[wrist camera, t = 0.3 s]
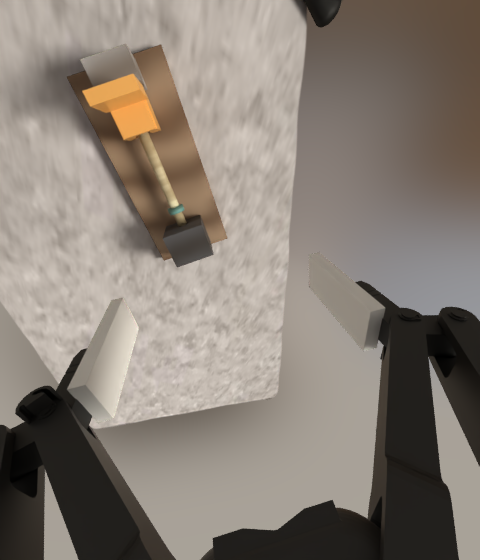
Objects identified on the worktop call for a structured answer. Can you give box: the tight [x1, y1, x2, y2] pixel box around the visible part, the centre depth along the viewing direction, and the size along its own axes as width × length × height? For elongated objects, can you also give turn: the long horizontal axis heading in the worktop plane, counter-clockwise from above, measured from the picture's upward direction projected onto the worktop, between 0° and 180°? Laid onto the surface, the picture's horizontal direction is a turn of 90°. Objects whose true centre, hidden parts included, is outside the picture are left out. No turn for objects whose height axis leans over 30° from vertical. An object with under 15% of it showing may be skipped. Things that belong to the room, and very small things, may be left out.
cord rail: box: [67, 44, 227, 267], centre depth 33 cm, size 26×12×8 cm, turn 16°
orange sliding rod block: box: [82, 74, 161, 141], centre depth 27 cm, size 4×5×10 cm
